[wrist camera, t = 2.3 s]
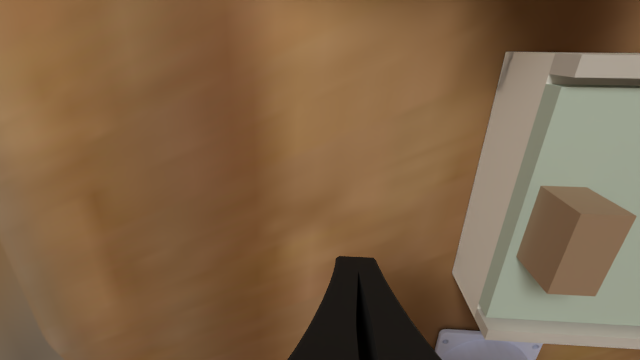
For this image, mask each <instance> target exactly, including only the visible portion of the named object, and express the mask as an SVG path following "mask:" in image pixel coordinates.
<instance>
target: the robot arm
mask: <svg viewBox="0 0 640 360" xmlns="http://www.w3.org/2000/svg"><path fill="white" fill-rule="evenodd" d="M542 345H543V343H529V342H512V341H496V340H485V339H484V337H483V335H482V333H481V331H471V330H454V329H443V330H441V331H440V332H439V335H438V339H437V343H436V347H435V351H434V350H433V348H432V347H431V346H430V345H429V343H428V342H427V341H426V340H425V338H424V337H423V336H422V335H421V333H420V332H419V331H418V329H417V328H416V327H415V325H414V324H413V322H412V321H411V320H410V318H409V317H408V315H407V314H406V312H405V311H404V309H403V308H402V306H401V305H400V303H399V302H398V300H397V298H396V297H395V295H394V294H393V292H392V290H391V289H390V287H389V285H388V284H387V282H386V280H385V278H384V276H383V274H382V272H381V270H380V268H379V266H378V264H377V262H376V260H375V259H374V258H366V257H345V256H339V257H337V258H336V263H335V268H334V272H333V275H332V278H331V281H330V283H329V286H328V288H327V291H326V293H325V295H324V298H323V300H322V302H321V304H320V306H319V308H318V310H317V312H316V314H315V316H314V318H313V320H312V322H311V323H310V325H309V327H308V329H307V330H306V332H305V334H304V335H303V337H302V339H301V340H300V342H299V343H298V345H297V347H296V348H295V350H294V351H293V352H292V354H291V355H290V357H289V358H288V360H536V358H537V356H538V353H539V351H540V349H541V347H542Z"/></svg>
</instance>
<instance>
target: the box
mask: <svg viewBox="0 0 640 360" xmlns="http://www.w3.org/2000/svg"><path fill="white" fill-rule="evenodd" d="M546 84H577V85H637V86H640V53H587V52H506V53H505V57H504V61H503V66H502V70H501V74H500V78H499V82H498V86H497V90H496V94H495V98H494V103H493V107H492V111H491V115H490V119H489V123H488V127H487V131H486V135H485V140H484V144H483V148H482V152H481V156H480V160H479V164H478V168H477V172H476V177H475V181H474V185H473V189H472V193H471V197H470V201H469V205H468V209H467V214H466V218H465V222H464V226H463V230H462V234H461V238H460V242H459V246H458V251H457V255H456V259H455V263H454V267H453V271H452V274H453V276H454V278H455V280H456V282H457V284H458V286H459V288H460V290H461V292H462V294H463V296H464V298H465V300H466V302H467V305H468V307H469V309H470V311H471V313H472V315H473V317H474V319H475V321H476V323H477V325H478V327H479V329H480V331H481V333H482V335H483V337H484V339H485V340H496V341H512V342H529V343H545V344H562V345H578V346H595V347H612V348H628V349H640V326H630V325H612V324H595V323H577V322H559V321H542V320H524V319H506V318H488V317H486V316H485V315H484V313H483V311H482V309H481V307H480V305H479V300H480V297H481V294H482V291H483V287H484V284H485V281H486V278H487V274H488V271H489V268H490V265H491V261H492V258H493V255H494V251H495V248H496V245H497V242H498V238H499V235H500V232H501V229H502V225H503V222H504V219H505V216H506V212H507V209H508V206H509V202H510V199H511V196H512V193H513V189H514V186H515V183H516V180H517V176H518V173H519V170H520V167H521V163H522V160H523V157H524V153H525V150H526V147H527V144H528V140H529V137H530V134H531V131H532V127H533V124H534V121H535V118H536V114H537V111H538V108H539V105H540V101H541V98H542V95H543V91H544V88H545V85H546Z"/></svg>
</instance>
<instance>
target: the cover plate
mask: <svg viewBox="0 0 640 360" xmlns="http://www.w3.org/2000/svg"><path fill="white" fill-rule="evenodd" d="M479 305H480V307H481V309H482V311H483V313H484V315H485V316H486V317H488V318H506V319H524V320H542V321H559V322H577V323H595V324H612V325H630V326H640V86H637V85H577V84H546V85H545V88H544V91H543V95H542V98H541V101H540V105H539V108H538V111H537V114H536V118H535V121H534V124H533V127H532V131H531V134H530V137H529V140H528V144H527V147H526V150H525V153H524V157H523V160H522V163H521V167H520V170H519V173H518V176H517V180H516V183H515V186H514V189H513V193H512V196H511V199H510V202H509V206H508V209H507V212H506V216H505V219H504V222H503V225H502V229H501V232H500V235H499V238H498V242H497V245H496V248H495V251H494V255H493V258H492V261H491V265H490V268H489V271H488V274H487V278H486V281H485V284H484V287H483V291H482V294H481V297H480V300H479Z"/></svg>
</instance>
